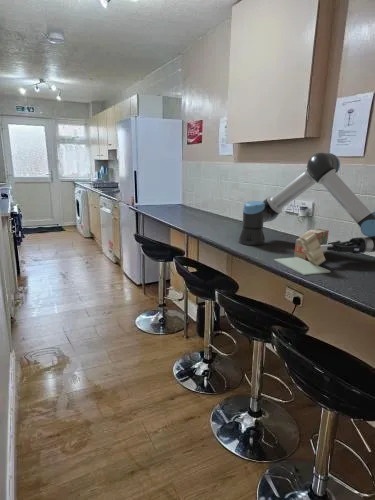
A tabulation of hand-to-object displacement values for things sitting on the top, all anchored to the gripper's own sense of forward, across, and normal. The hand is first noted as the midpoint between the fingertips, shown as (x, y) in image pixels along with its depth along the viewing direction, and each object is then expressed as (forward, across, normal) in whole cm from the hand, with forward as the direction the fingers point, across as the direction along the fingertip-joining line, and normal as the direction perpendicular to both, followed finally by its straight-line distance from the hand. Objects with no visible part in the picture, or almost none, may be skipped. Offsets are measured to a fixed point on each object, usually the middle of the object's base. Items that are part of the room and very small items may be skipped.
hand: (320, 248), depth 149 cm
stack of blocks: (-8, +15, -8) cm, 18 cm away
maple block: (0, 0, -6) cm, 6 cm away
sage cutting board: (+9, 0, -8) cm, 12 cm away
